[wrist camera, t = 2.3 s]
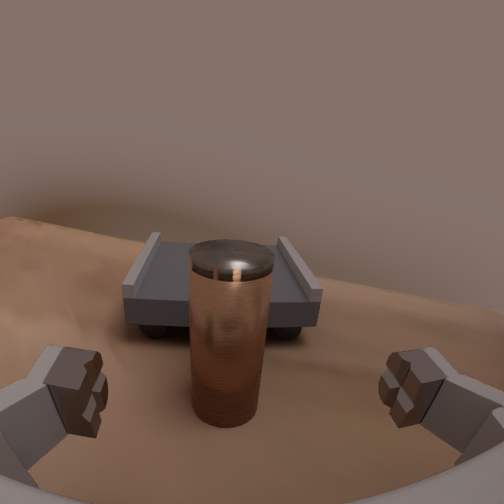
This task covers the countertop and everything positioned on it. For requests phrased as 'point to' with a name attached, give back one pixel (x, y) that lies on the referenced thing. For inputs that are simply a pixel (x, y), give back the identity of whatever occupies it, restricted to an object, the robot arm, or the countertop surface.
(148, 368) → the countertop surface
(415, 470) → the countertop surface
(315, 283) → the grey rimmed tray
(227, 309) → the canister
